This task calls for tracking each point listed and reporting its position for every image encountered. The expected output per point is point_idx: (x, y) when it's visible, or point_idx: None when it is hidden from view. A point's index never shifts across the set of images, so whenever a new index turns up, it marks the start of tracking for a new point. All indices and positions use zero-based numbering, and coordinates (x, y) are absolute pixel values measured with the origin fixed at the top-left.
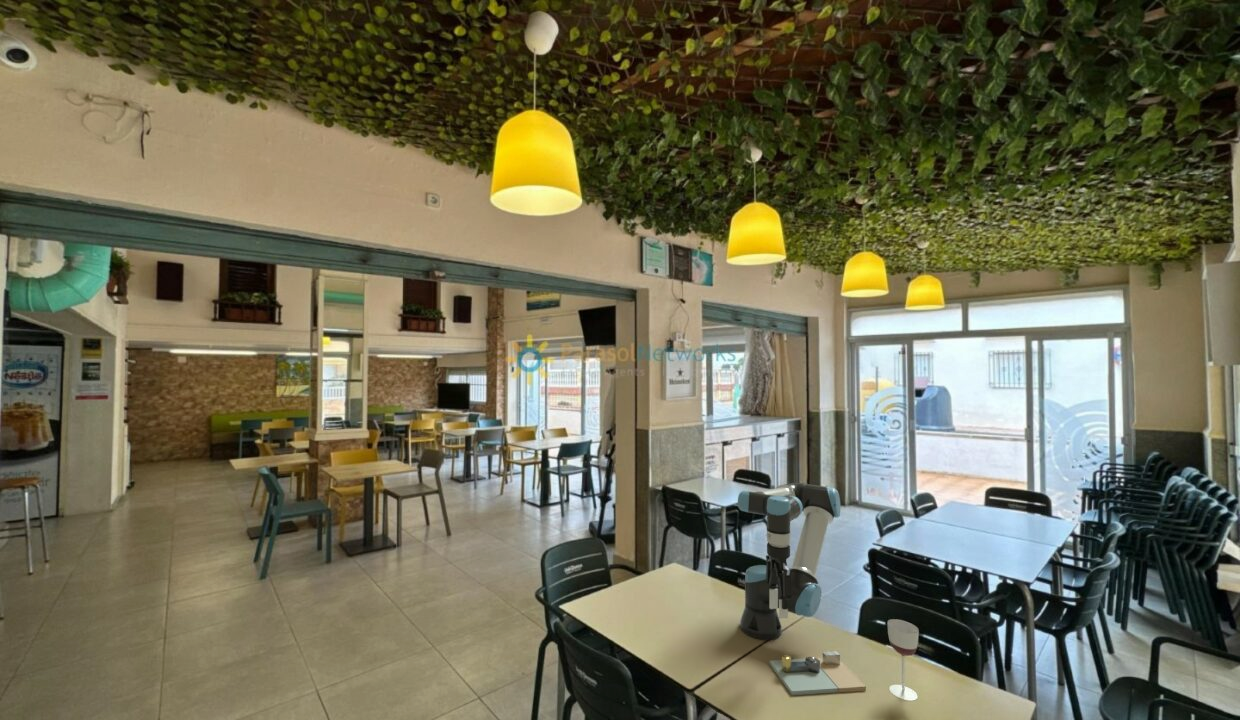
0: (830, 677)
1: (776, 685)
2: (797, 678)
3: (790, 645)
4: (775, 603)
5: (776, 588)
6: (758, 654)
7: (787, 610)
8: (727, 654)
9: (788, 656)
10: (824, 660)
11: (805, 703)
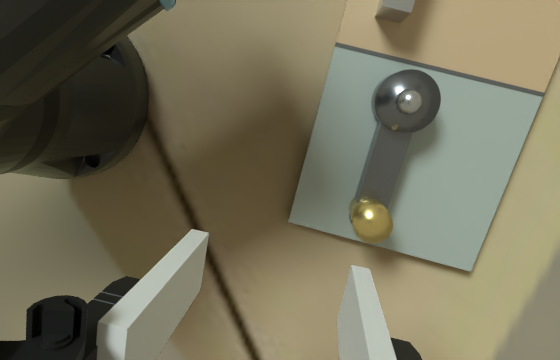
0: (475, 71)
1: (399, 275)
2: (421, 202)
3: (205, 49)
4: (192, 271)
5: (99, 327)
6: (222, 214)
7: (379, 305)
8: (190, 312)
9: (371, 212)
10: (392, 17)
11: (519, 253)
